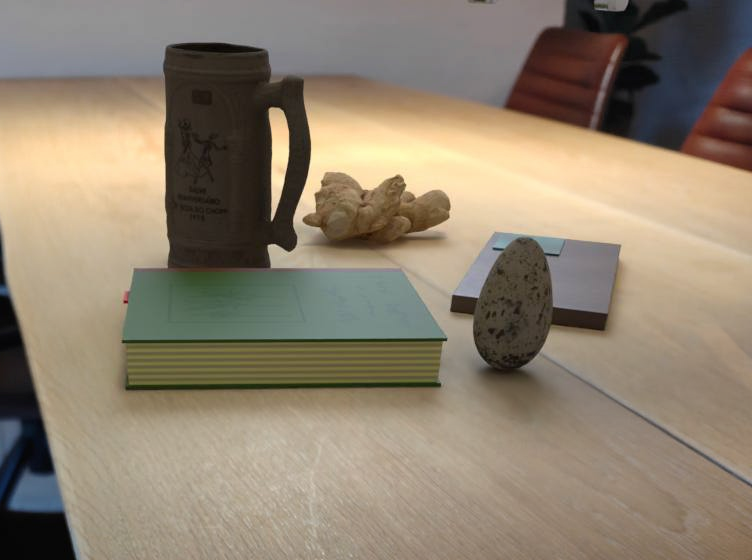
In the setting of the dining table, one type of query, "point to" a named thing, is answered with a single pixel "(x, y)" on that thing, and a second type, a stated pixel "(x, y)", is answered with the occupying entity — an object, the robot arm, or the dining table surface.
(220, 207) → the beer stein
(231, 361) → the hardcover book
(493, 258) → the serving board
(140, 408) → the dining table surface
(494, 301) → the decorative egg
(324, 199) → the ginger root
